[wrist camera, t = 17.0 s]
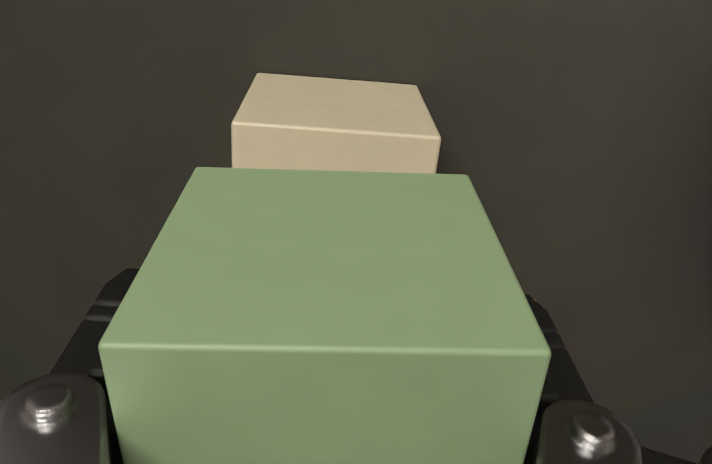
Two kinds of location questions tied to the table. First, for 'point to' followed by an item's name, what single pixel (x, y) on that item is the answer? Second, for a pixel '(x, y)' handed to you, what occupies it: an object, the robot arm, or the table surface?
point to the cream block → (333, 126)
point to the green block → (325, 326)
